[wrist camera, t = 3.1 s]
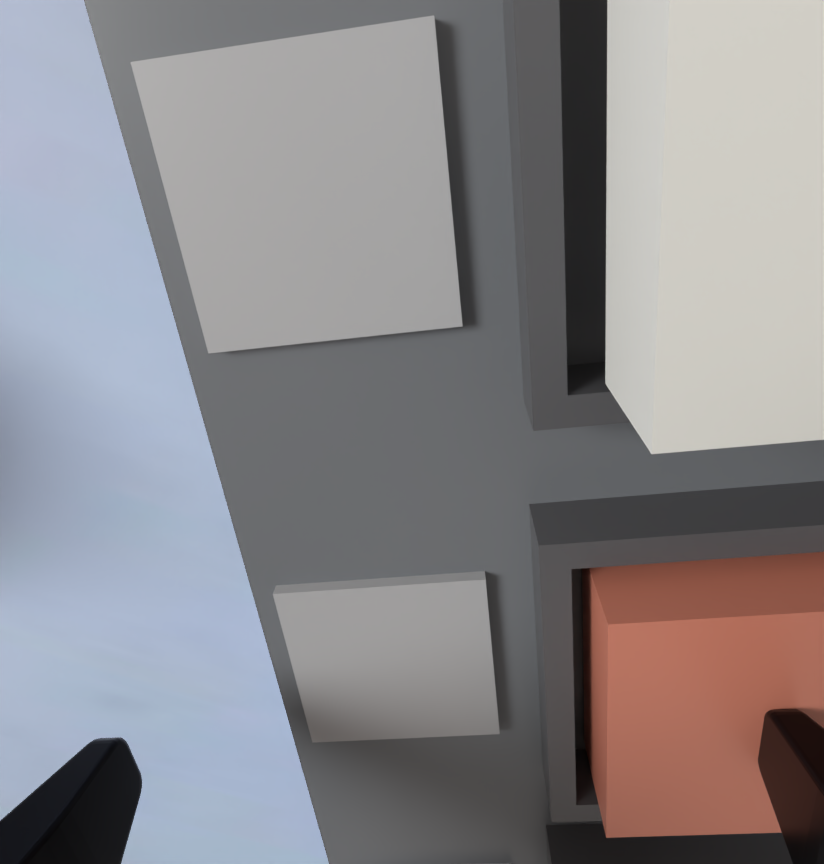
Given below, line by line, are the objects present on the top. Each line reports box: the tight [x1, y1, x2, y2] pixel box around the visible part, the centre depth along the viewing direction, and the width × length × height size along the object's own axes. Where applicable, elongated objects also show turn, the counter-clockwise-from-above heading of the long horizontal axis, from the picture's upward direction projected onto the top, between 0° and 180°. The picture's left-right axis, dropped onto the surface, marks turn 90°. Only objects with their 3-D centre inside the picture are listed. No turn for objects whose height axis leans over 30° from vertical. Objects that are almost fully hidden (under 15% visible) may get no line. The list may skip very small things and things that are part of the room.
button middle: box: [582, 552, 824, 838], centre depth 9 cm, size 4×4×2 cm
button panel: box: [84, 0, 824, 864], centre depth 11 cm, size 22×12×4 cm, turn 7°
